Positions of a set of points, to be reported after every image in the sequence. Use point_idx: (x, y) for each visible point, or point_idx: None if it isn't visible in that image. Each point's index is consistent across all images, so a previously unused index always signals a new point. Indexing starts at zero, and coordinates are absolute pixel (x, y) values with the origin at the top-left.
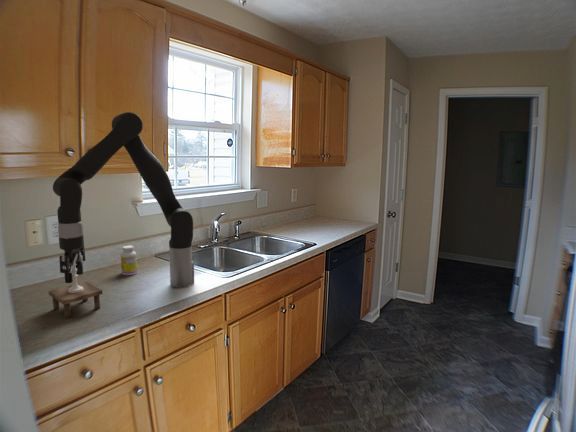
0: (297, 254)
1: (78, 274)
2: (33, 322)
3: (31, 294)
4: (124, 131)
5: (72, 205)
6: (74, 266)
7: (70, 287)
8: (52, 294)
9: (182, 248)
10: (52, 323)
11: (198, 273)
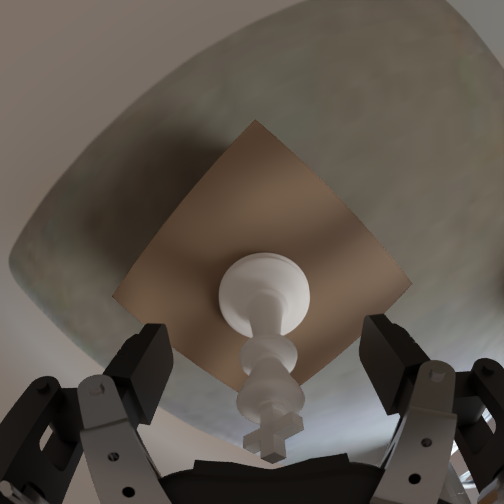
0: None
1: (363, 328)
2: (129, 149)
3: (397, 16)
4: None
5: None
6: (248, 448)
7: (322, 235)
8: (208, 171)
9: None
10: (124, 228)
11: None
